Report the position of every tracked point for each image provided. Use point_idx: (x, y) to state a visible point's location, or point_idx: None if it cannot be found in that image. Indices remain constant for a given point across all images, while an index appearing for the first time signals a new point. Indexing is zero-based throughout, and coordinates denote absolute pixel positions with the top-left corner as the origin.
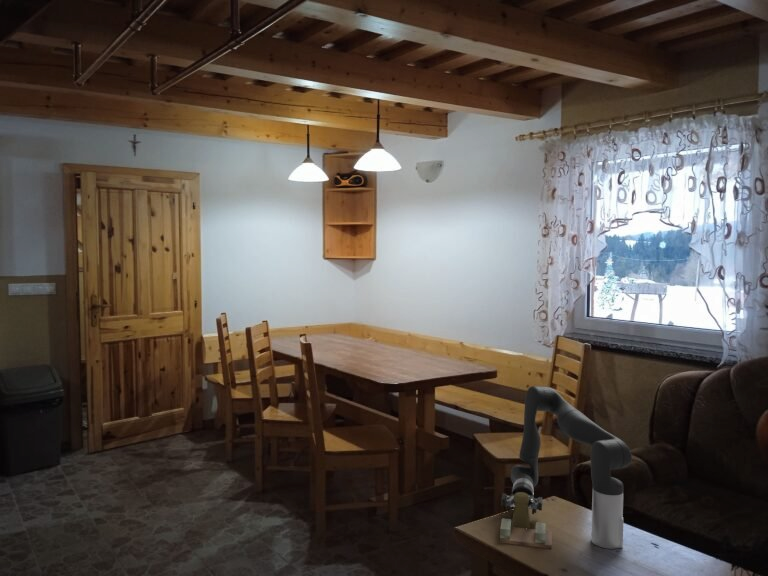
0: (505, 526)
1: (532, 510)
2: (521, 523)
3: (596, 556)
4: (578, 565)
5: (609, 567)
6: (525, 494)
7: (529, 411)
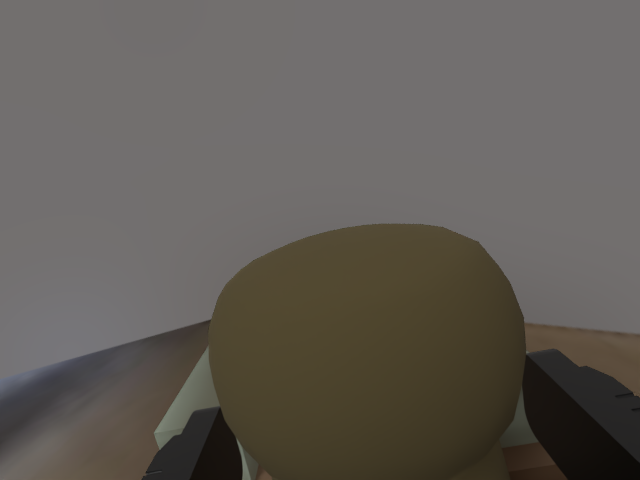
0: None
1: (226, 423)
2: None
3: (24, 411)
4: (151, 345)
5: (44, 371)
6: (269, 254)
7: None
